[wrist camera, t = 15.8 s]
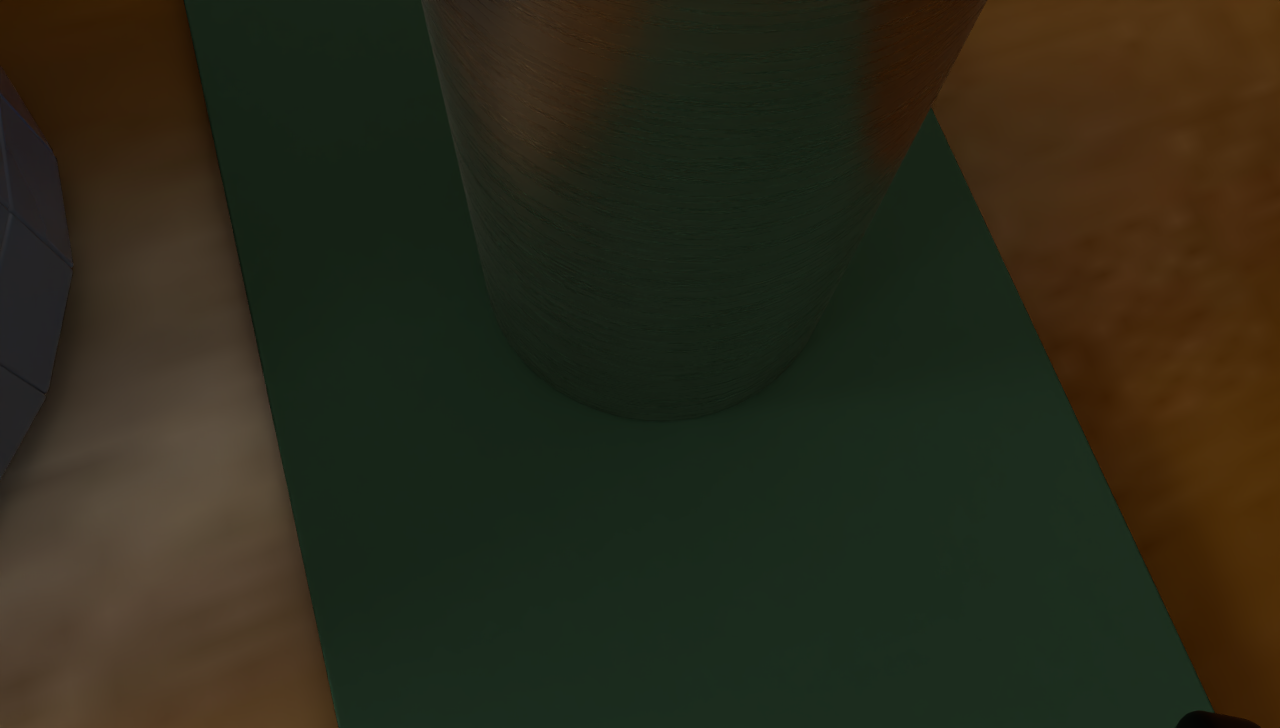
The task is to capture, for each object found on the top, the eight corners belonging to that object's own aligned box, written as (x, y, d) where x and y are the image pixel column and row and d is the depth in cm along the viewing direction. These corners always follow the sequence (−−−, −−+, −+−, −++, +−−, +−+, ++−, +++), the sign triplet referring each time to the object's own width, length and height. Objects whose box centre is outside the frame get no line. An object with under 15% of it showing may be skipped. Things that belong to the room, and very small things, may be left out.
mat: (1300, 927, 15) (1319, 931, 15) (458, 1262, 13) (454, 1277, 13) (799, -152, 21) (803, -169, 21) (184, -18, 19) (176, -33, 19)
